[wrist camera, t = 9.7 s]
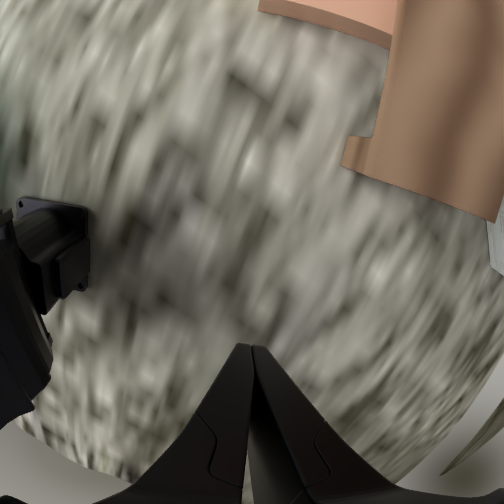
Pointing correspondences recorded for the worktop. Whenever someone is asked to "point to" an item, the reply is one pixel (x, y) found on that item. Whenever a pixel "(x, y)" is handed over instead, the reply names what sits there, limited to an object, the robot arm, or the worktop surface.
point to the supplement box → (497, 241)
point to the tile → (342, 16)
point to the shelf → (441, 106)
